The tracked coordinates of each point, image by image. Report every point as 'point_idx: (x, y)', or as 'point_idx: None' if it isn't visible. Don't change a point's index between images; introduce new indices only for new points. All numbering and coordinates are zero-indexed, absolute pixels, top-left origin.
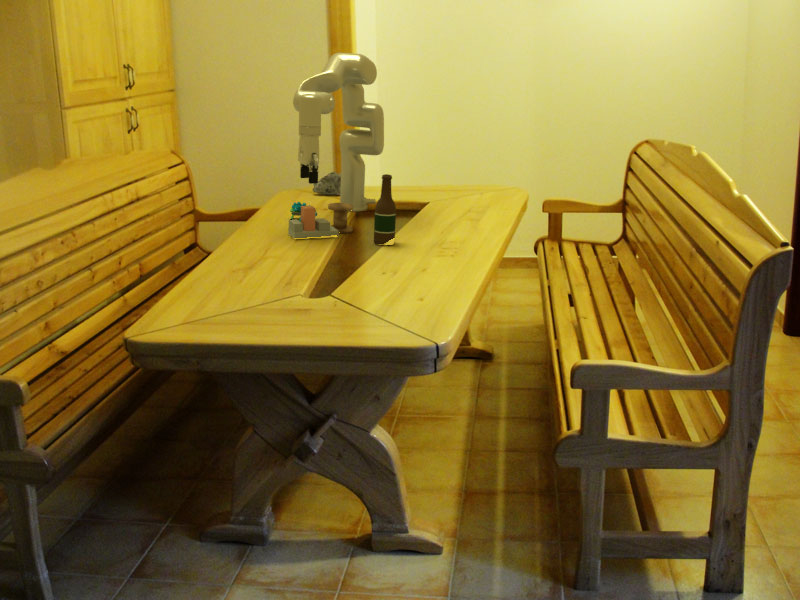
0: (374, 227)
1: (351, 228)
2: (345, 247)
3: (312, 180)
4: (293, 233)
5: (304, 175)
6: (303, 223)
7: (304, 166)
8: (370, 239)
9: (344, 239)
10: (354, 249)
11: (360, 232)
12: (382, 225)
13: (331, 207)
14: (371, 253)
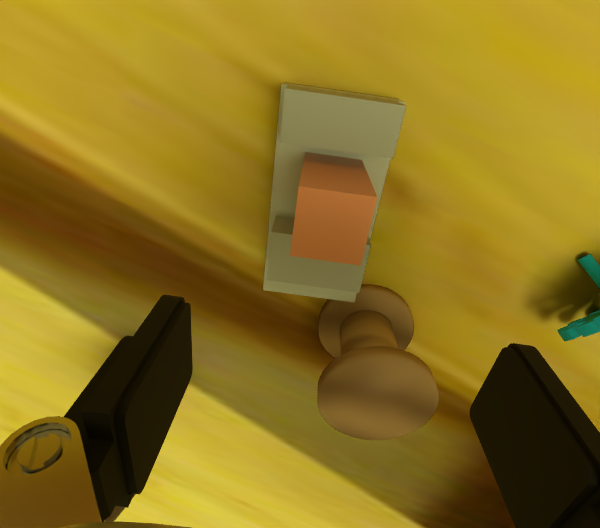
0: None
1: (335, 355)
2: (120, 235)
3: (126, 342)
4: (306, 87)
5: (502, 396)
6: (316, 162)
7: (580, 525)
8: (217, 351)
9: (238, 282)
10: (88, 251)
11: (315, 365)
12: None
13: (364, 356)
14: (30, 276)
